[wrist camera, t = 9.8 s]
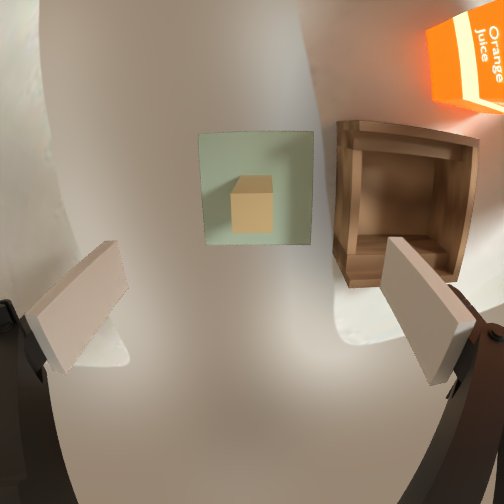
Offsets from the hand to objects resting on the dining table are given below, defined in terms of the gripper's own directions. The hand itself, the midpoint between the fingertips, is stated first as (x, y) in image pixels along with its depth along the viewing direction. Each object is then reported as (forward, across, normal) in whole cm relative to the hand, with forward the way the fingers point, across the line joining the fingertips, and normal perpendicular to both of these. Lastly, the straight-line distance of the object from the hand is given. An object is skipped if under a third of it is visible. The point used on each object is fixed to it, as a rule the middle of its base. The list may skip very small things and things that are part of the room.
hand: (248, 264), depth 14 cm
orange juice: (+18, +23, +15) cm, 32 cm away
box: (+17, +14, 0) cm, 22 cm away
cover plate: (+18, 0, 0) cm, 18 cm away
